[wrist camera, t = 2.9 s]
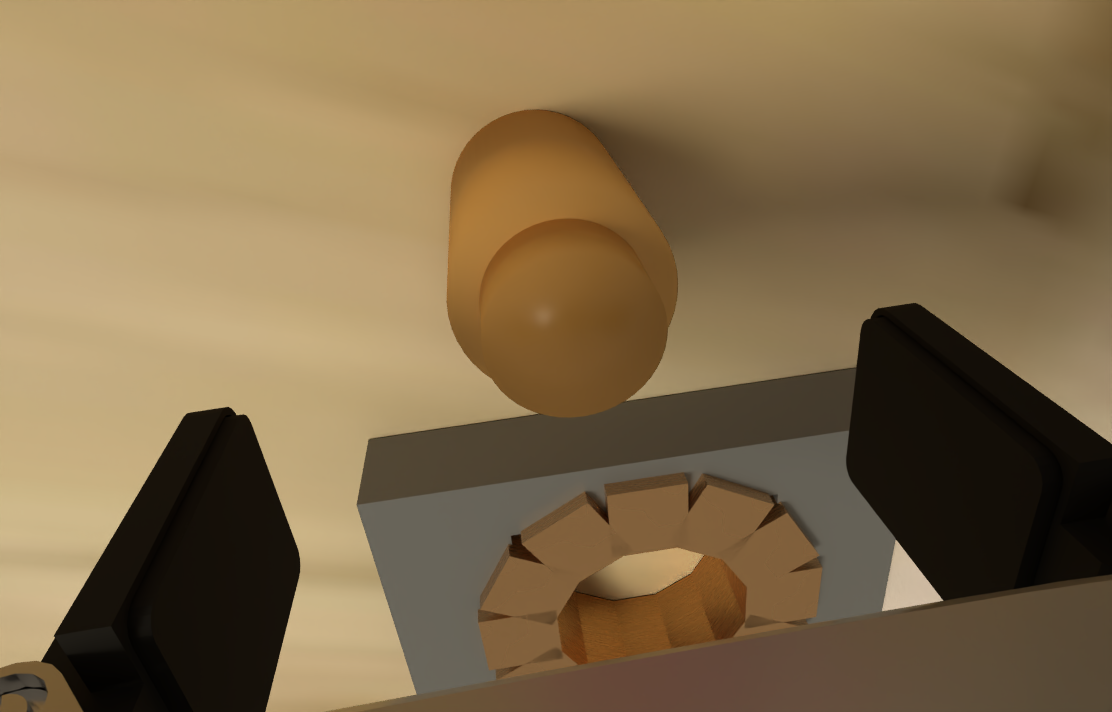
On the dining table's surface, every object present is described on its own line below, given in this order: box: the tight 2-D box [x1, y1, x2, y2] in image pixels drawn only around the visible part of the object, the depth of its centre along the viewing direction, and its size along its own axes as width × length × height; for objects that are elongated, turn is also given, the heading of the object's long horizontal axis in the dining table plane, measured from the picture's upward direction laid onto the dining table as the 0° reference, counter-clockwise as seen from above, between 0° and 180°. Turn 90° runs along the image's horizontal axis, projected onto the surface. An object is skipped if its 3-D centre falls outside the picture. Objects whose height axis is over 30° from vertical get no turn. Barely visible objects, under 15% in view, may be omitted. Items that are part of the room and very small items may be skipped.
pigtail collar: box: [478, 472, 823, 680], centre depth 24 cm, size 11×11×4 cm
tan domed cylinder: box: [447, 110, 678, 418], centre depth 16 cm, size 4×4×8 cm
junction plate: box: [357, 368, 896, 694], centre depth 25 cm, size 16×12×3 cm
